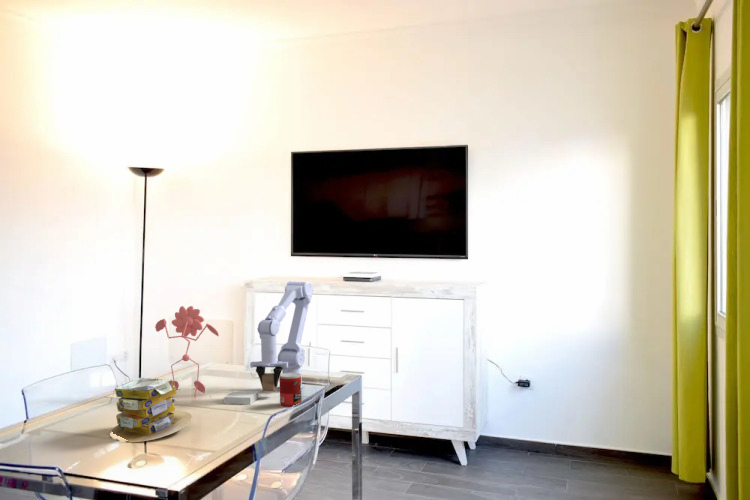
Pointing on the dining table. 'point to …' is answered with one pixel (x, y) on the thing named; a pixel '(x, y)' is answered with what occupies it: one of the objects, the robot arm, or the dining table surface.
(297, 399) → the canned food
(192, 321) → the figurine
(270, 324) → the robot arm
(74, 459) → the dining table surface
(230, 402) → the grey plinth
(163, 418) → the stacked yellow food packages
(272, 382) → the walnut block
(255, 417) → the dining table surface
